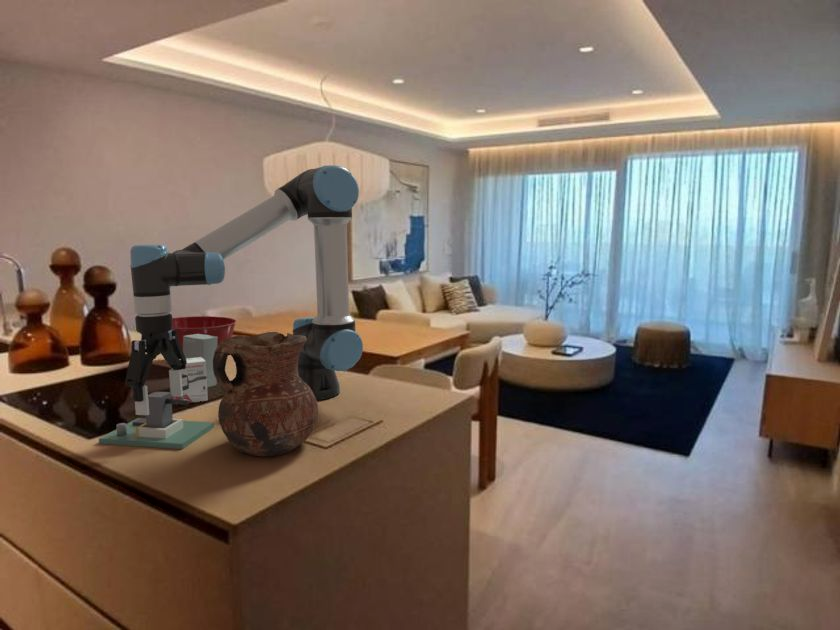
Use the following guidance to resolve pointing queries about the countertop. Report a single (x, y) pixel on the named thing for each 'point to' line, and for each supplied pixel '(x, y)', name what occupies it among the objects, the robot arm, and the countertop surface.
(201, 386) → the ink box
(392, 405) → the countertop surface
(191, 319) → the mixing bowl
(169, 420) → the grey handled block
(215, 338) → the skincare box
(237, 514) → the countertop surface
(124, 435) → the board
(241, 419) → the jug
